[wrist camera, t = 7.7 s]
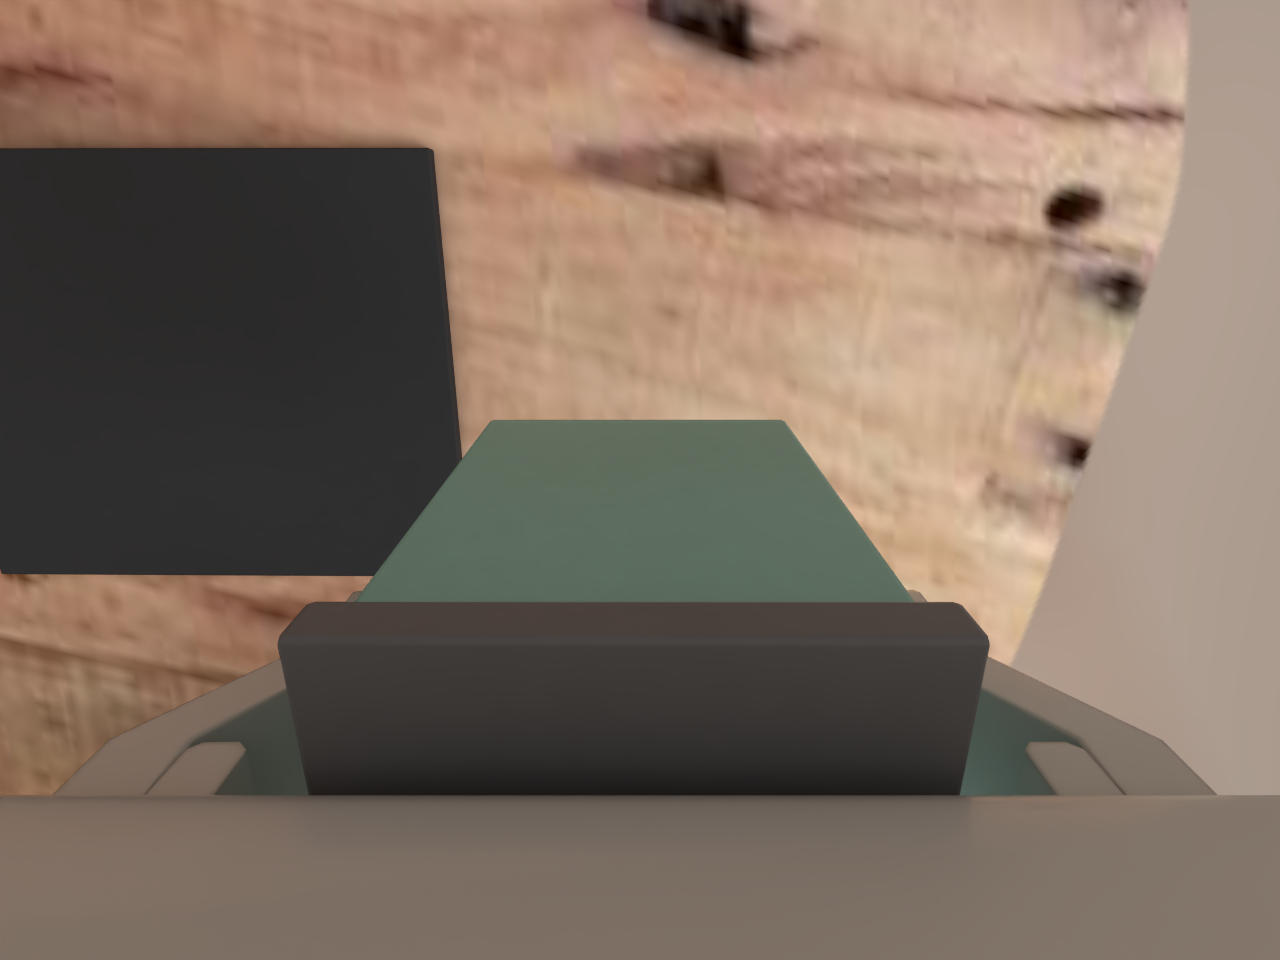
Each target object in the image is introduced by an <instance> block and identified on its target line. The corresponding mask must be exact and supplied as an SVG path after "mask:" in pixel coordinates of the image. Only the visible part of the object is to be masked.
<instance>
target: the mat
mask: <svg viewBox="0 0 1280 960" xmlns="http://www.w3.org/2000/svg"><path fill="white" fill-rule="evenodd" d="M461 460H462V453H461V442H460V431H459V421H458V410H457V399H456V389H455V378H454V367H453V356H452V346H451V335H450V324H449V313H448V303H447V292H446V281H445V270H444V260H443V249H442V238H441V228H440V217H439V206H438V195H437V185H436V174H435V163H434V152H433V150H432V149H429V148H30V149H0V570H1V572H2V574H99V575H283V576H374V575H375V574H376V573H377V571H378V570H379V569H380V567H381V566H382V565H383V563H384V562H385V561H386V559H387V558H388V557H389V555H390V554H391V553H392V551H393V550H394V549H395V547H396V546H397V545H398V543H399V542H400V541H401V539H402V538H403V537H404V535H405V534H406V533H407V531H408V530H409V529H410V527H411V526H412V525H413V524H414V522H415V521H416V520H417V518H418V517H419V516H420V514H421V513H422V512H423V510H424V509H425V508H426V506H427V505H428V504H429V502H430V501H431V500H432V498H433V497H434V496H435V494H436V493H437V492H438V490H439V489H440V488H441V486H442V485H443V484H444V482H445V481H446V480H447V478H448V477H449V476H450V474H451V473H452V472H453V471H454V469H455V468H456V467H457V465H458V464H459V463H460V461H461Z"/></svg>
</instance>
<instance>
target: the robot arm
mask: <svg viewBox="0 0 1280 960" xmlns="http://www.w3.org/2000/svg"><path fill="white" fill-rule="evenodd" d="M361 592H362V591H357V592H354V593H353V594H352V595H351V596H350V597H349V598H348V600H347V601H346V602H355V600H356V599H357V598H358V596H359V595H360V594H361ZM907 592H908V593H909V595H910V596H911V597H912V599H913V600H914V602H927V601H926V599H925V598H924V597H923V596H922V594H921V593H920V592H917V591H915V590H907ZM0 960H1280V795H1217V794H1216V793H1215V792H1214V791H1213V790H1212V789H1211V788H1210V787H1209V786H1208V785H1207V784H1206V783H1205V782H1204V781H1203V780H1202V779H1201V778H1200V777H1199V776H1198V775H1197V774H1196V773H1195V772H1194V771H1193V770H1192V769H1191V768H1190V767H1189V766H1188V765H1187V764H1186V763H1185V762H1184V761H1183V760H1182V759H1181V758H1180V757H1179V756H1178V755H1177V754H1176V753H1175V752H1174V751H1173V750H1172V749H1171V748H1170V747H1169V746H1168V745H1167V744H1166V743H1165V742H1164V741H1163V740H1161V739H1159V738H1157V737H1155V736H1153V735H1151V734H1148V733H1146V732H1144V731H1142V730H1140V729H1138V728H1136V727H1134V726H1132V725H1130V724H1128V723H1125V722H1123V721H1121V720H1119V719H1117V718H1115V717H1113V716H1111V715H1109V714H1107V713H1105V712H1103V711H1101V710H1098V709H1096V708H1094V707H1092V706H1090V705H1088V704H1086V703H1084V702H1082V701H1080V700H1078V699H1076V698H1073V697H1071V696H1069V695H1067V694H1065V693H1063V692H1061V691H1059V690H1057V689H1055V688H1053V687H1050V686H1048V685H1046V684H1044V683H1042V682H1040V681H1038V680H1036V679H1034V678H1032V677H1030V676H1028V675H1025V674H1023V673H1021V672H1019V671H1017V670H1015V669H1013V668H1011V667H1009V666H1007V665H1005V664H1003V663H1000V662H998V661H996V660H994V659H992V658H990V657H988V656H987V661H986V666H985V671H984V676H983V681H982V686H981V691H980V696H979V701H978V706H977V711H976V716H975V721H974V726H973V731H972V736H971V741H970V746H969V751H968V756H967V761H966V766H965V771H964V776H963V781H962V786H961V791H960V795H309V794H308V789H307V785H306V780H305V775H304V770H303V765H302V761H301V756H300V751H299V746H298V741H297V736H296V732H295V727H294V722H293V717H292V712H291V708H290V703H289V698H288V693H287V688H286V684H285V679H284V674H283V669H282V664H281V659H278V660H276V661H274V662H272V663H270V664H268V665H265V666H263V667H261V668H259V669H257V670H255V671H253V672H251V673H249V674H246V675H244V676H242V677H240V678H238V679H236V680H234V681H232V682H230V683H227V684H225V685H223V686H221V687H219V688H217V689H215V690H213V691H210V692H208V693H206V694H204V695H202V696H200V697H198V698H196V699H194V700H191V701H189V702H187V703H185V704H183V705H181V706H179V707H177V708H175V709H172V710H170V711H168V712H166V713H164V714H162V715H160V716H158V717H156V718H153V719H151V720H149V721H147V722H145V723H143V724H141V725H139V726H137V727H134V728H132V729H130V730H128V731H126V732H124V733H122V734H120V735H118V736H115V737H113V738H111V739H110V740H108V741H107V742H106V743H105V744H104V745H103V746H102V747H101V748H100V749H99V750H98V751H97V752H96V753H95V754H94V755H93V756H92V757H91V758H90V759H89V760H88V761H87V762H86V763H85V764H84V765H83V766H82V767H81V768H80V769H79V770H78V771H76V772H75V773H74V774H73V775H72V776H71V777H70V778H69V779H68V780H67V781H66V782H65V783H64V784H63V785H62V786H61V787H60V788H59V789H58V790H57V791H56V792H55V793H54V794H53V795H0Z"/></svg>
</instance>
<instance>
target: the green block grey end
mask: <svg viewBox="0 0 1280 960" xmlns="http://www.w3.org/2000/svg"><path fill="white" fill-rule="evenodd" d="M989 646H990V645H989V640H988V636H987V635H986V634H985V632H984V631H983V630H982V629H981V628H980V626H979V625H978V624H977V623H976V622H975V620H974V619H973V618H972V617H971V616H970V614H969V613H968V612H967V611H966V610H965V608H964V607H963V606H962V605H960V604H957V603H954V602H914V600H913V599H912V597H911V596H910V595H909V593H908V592H907V590H906V589H905V588H904V586H903V585H902V583H901V582H900V581H899V579H898V578H897V577H896V575H895V574H894V572H893V571H892V570H891V568H890V567H889V565H888V564H887V563H886V561H885V560H884V558H883V557H882V556H881V554H880V553H879V552H878V550H877V549H876V547H875V546H874V545H873V543H872V542H871V540H870V539H869V538H868V536H867V535H866V534H865V532H864V531H863V529H862V528H861V527H860V525H859V524H858V522H857V521H856V520H855V518H854V517H853V515H852V514H851V513H850V511H849V510H848V509H847V507H846V506H845V504H844V503H843V502H842V500H841V499H840V497H839V496H838V495H837V493H836V492H835V491H834V489H833V488H832V486H831V485H830V484H829V482H828V481H827V479H826V478H825V477H824V475H823V474H822V472H821V471H820V470H819V468H818V467H817V466H816V464H815V463H814V461H813V460H812V459H811V457H810V456H809V454H808V453H807V452H806V450H805V449H804V448H803V446H802V445H801V443H800V442H799V441H798V439H797V438H796V436H795V435H794V434H793V432H792V431H791V429H790V428H789V427H788V425H787V424H786V423H785V421H782V420H493V421H491V422H490V423H489V424H488V425H487V427H486V428H485V429H484V431H483V432H482V433H481V435H480V436H479V437H478V439H477V440H476V441H475V443H474V444H473V445H472V447H471V448H470V449H469V451H468V452H467V453H466V455H465V456H464V457H463V459H462V460H461V461H460V463H459V464H458V465H457V467H456V468H455V469H454V471H453V472H452V473H451V474H450V476H449V477H448V478H447V480H446V481H445V482H444V484H443V485H442V486H441V488H440V489H439V490H438V492H437V493H436V494H435V496H434V497H433V498H432V500H431V501H430V502H429V504H428V505H427V506H426V508H425V509H424V510H423V512H422V513H421V514H420V516H419V517H418V518H417V520H416V521H415V522H414V524H413V525H412V526H411V527H410V529H409V530H408V531H407V533H406V534H405V535H404V537H403V538H402V539H401V541H400V542H399V543H398V545H397V546H396V547H395V549H394V550H393V551H392V553H391V554H390V555H389V557H388V558H387V559H386V561H385V562H384V563H383V565H382V566H381V567H380V569H379V570H378V571H377V573H376V574H375V575H374V576H373V578H372V579H371V580H370V582H369V583H368V584H367V586H366V587H365V588H364V590H363V591H362V592H361V594H360V595H359V596H358V598H357V599H356V600H355V602H314V603H310V604H308V605H306V606H305V607H304V608H303V610H302V611H301V612H300V613H299V614H298V615H297V616H296V618H295V619H294V620H293V621H292V622H291V623H290V624H289V626H288V627H287V628H286V629H285V630H284V631H283V633H282V634H281V635H280V637H279V640H278V650H279V655H280V659H281V664H282V669H283V674H284V679H285V684H286V688H287V693H288V698H289V703H290V708H291V712H292V717H293V722H294V727H295V732H296V736H297V741H298V746H299V751H300V756H301V761H302V765H303V770H304V775H305V780H306V785H307V789H308V794H309V795H960V791H961V786H962V781H963V776H964V771H965V766H966V761H967V756H968V751H969V746H970V741H971V736H972V731H973V726H974V721H975V716H976V711H977V706H978V701H979V696H980V691H981V686H982V681H983V676H984V671H985V666H986V661H987V656H988V651H989Z"/></svg>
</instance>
